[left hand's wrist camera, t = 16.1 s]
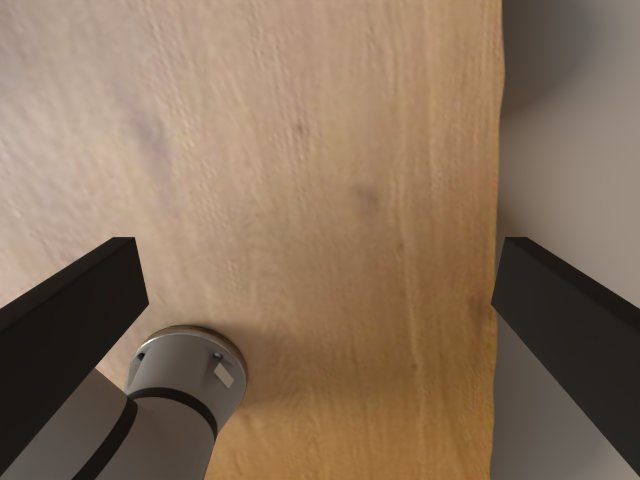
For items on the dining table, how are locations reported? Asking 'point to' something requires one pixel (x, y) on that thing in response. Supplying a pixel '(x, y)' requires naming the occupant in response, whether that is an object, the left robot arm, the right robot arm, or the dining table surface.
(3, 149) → the dining table surface
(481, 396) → the dining table surface
